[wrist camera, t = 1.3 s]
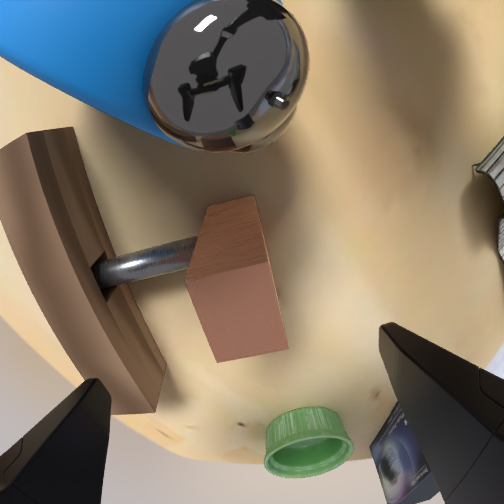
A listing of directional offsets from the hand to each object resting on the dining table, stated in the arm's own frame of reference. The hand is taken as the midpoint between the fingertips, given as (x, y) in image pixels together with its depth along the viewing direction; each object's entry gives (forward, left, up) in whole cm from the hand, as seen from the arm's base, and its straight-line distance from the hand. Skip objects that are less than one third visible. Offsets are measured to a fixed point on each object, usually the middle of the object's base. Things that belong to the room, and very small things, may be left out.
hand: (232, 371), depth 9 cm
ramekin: (-1, +23, -13) cm, 27 cm away
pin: (+7, 0, -13) cm, 15 cm away
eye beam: (+11, 0, -13) cm, 17 cm away
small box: (-13, +28, -13) cm, 34 cm away
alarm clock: (+6, -18, -8) cm, 20 cm away
